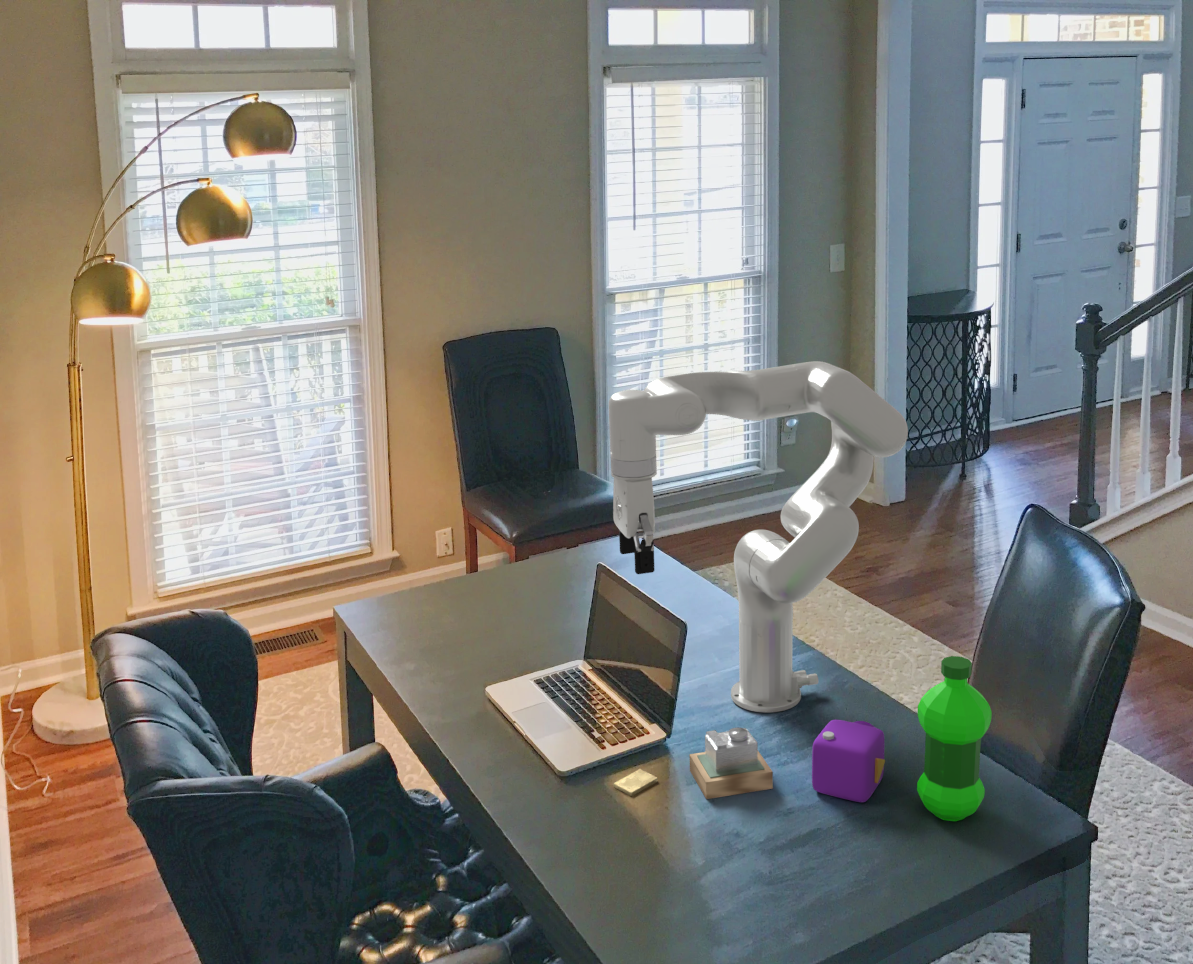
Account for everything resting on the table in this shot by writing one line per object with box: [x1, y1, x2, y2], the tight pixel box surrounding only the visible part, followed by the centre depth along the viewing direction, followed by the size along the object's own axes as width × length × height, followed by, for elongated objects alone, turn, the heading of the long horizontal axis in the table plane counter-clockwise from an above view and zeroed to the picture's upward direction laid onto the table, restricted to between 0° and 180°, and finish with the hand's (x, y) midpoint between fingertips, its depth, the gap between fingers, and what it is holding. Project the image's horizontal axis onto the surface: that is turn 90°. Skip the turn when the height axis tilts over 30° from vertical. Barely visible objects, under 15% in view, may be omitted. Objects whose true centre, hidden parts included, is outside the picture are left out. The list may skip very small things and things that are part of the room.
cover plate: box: [613, 768, 659, 797], centre depth 205 cm, size 6×4×1 cm, turn 133°
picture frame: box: [689, 750, 774, 800], centre depth 205 cm, size 11×9×3 cm
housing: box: [704, 727, 759, 773], centre depth 204 cm, size 7×5×5 cm
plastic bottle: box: [916, 655, 993, 822], centre depth 190 cm, size 10×10×25 cm
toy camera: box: [811, 719, 886, 803], centre depth 202 cm, size 11×14×10 cm
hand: (636, 562), depth 215 cm, fingers open, 9 cm apart
